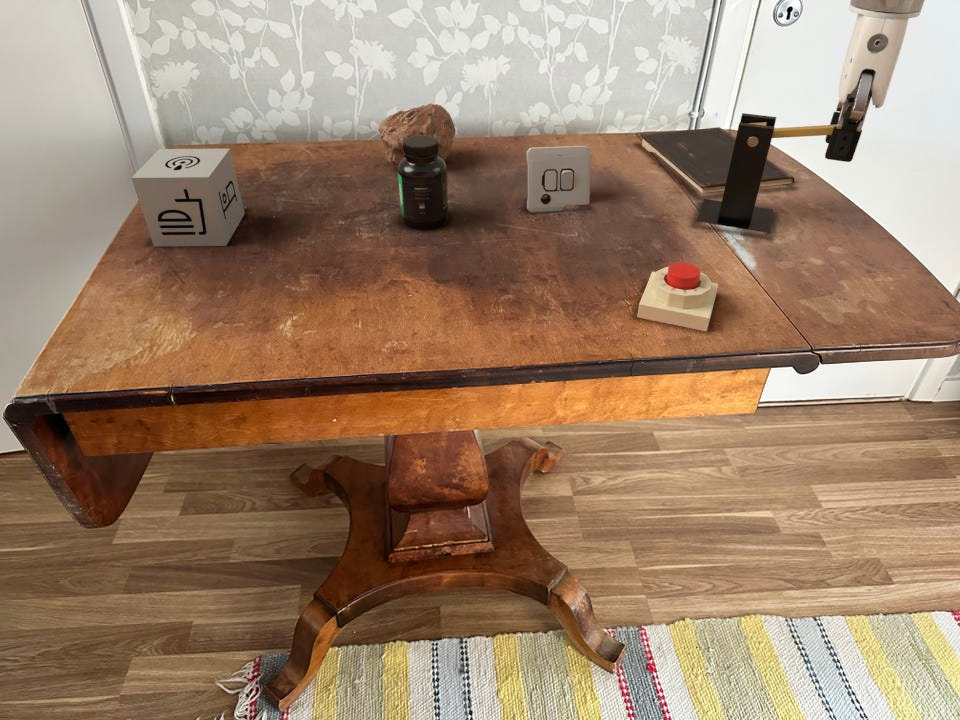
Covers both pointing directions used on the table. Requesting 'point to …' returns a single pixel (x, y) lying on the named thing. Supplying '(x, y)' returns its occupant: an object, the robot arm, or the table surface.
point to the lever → (800, 130)
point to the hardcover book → (705, 157)
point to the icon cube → (189, 197)
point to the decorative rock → (416, 130)
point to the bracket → (744, 179)
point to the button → (683, 276)
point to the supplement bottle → (423, 184)
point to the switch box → (678, 302)
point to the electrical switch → (558, 177)
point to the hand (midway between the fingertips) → (838, 150)
